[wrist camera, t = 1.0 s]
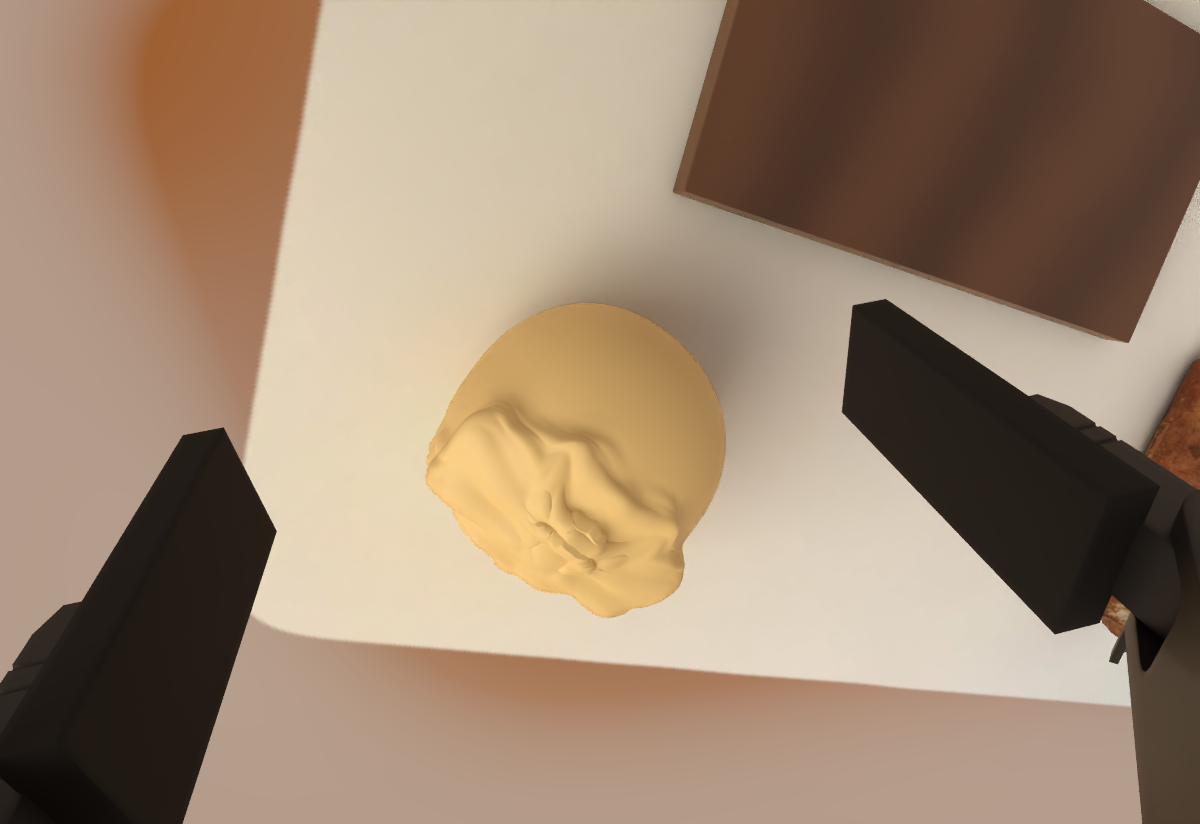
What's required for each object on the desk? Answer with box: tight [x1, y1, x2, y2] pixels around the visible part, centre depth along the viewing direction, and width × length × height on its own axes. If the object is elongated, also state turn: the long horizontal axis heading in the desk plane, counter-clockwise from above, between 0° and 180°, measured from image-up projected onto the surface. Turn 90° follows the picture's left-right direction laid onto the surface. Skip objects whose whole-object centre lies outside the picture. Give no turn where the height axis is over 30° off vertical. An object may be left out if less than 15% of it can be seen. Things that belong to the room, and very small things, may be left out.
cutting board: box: [673, 0, 1200, 343], centre depth 34 cm, size 30×16×2 cm, turn 74°
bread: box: [1101, 359, 1200, 637], centre depth 43 cm, size 6×19×6 cm, turn 159°
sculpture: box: [426, 303, 726, 618], centre depth 28 cm, size 12×12×11 cm
